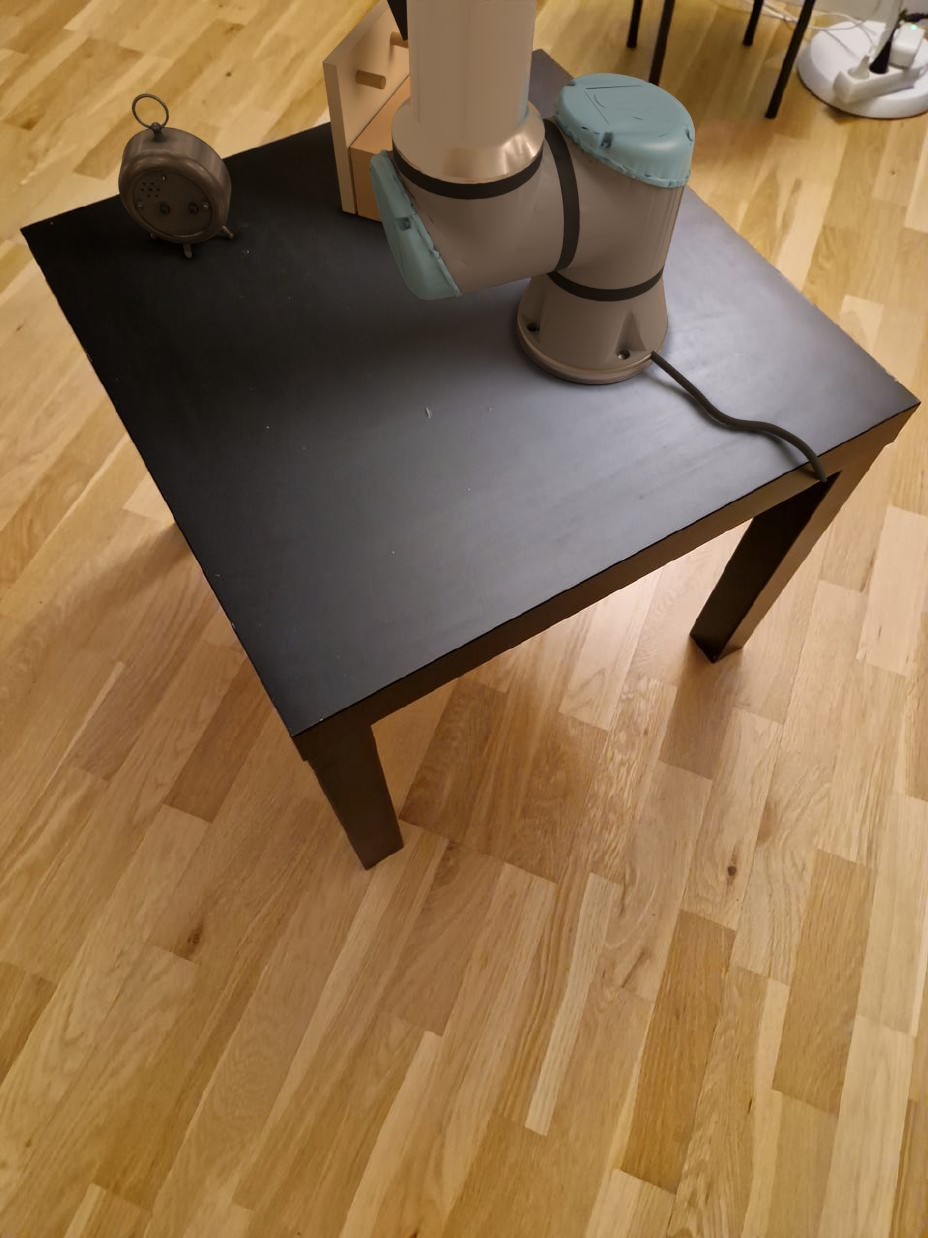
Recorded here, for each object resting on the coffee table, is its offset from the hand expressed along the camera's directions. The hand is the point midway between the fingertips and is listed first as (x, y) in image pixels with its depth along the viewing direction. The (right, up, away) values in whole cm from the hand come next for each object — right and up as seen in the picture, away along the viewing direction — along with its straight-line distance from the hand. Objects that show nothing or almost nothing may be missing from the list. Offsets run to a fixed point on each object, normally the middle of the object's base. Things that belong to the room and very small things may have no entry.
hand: (459, 14), depth 76 cm
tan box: (-3, -5, +21) cm, 22 cm away
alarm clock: (-30, -14, +16) cm, 37 cm away
